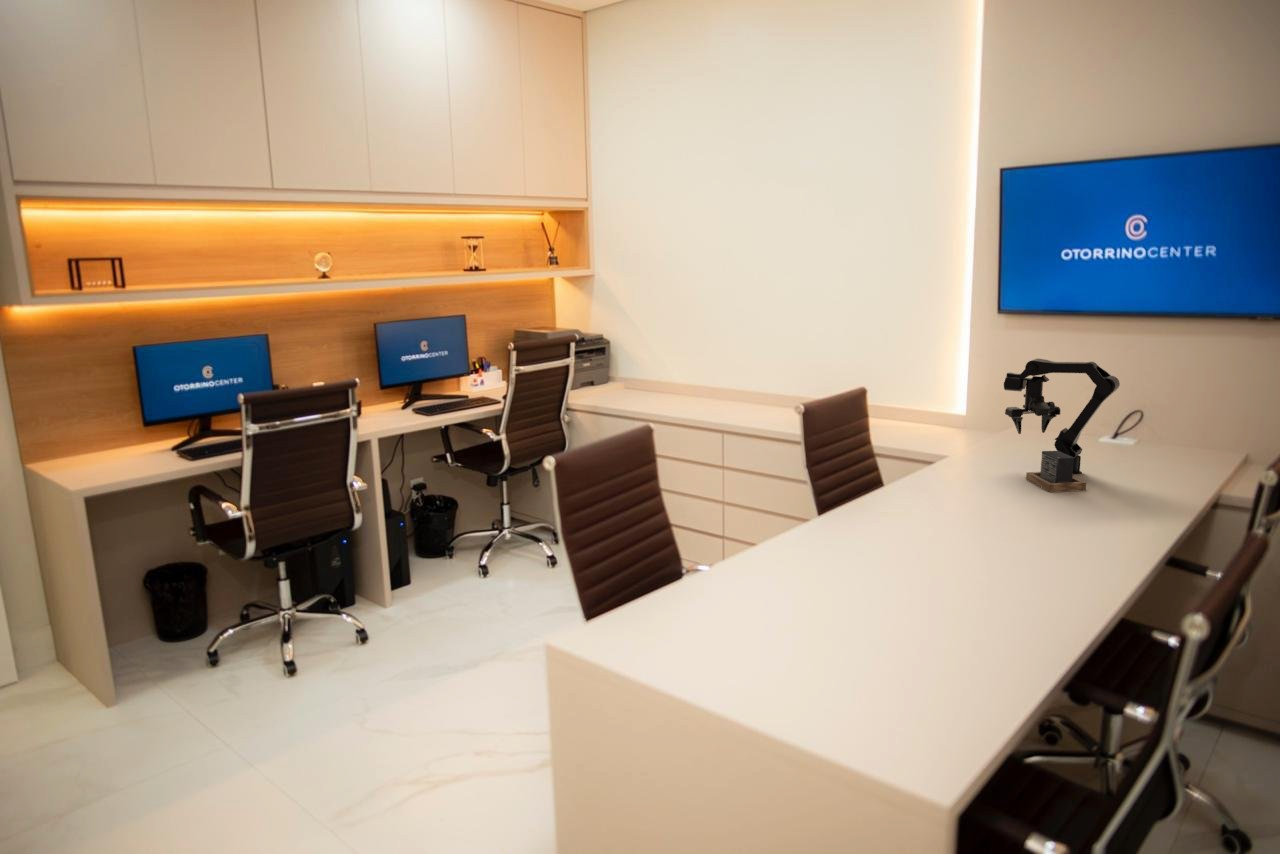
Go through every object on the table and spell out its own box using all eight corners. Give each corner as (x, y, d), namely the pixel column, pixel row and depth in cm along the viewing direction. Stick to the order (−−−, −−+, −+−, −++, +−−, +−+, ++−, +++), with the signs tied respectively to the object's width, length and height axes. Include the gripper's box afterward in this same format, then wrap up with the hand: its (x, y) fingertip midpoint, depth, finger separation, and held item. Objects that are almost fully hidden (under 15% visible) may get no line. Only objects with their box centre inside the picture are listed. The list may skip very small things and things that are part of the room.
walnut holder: (1060, 477, 309) (1061, 470, 309) (1085, 490, 294) (1086, 482, 293) (1025, 479, 309) (1026, 472, 308) (1049, 492, 293) (1049, 484, 293)
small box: (1073, 486, 297) (1075, 457, 294) (1055, 487, 296) (1057, 458, 294) (1056, 477, 307) (1058, 449, 305) (1039, 479, 306) (1040, 450, 304)
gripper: (1020, 397, 310) (1017, 439, 314) (1070, 395, 311) (1067, 436, 315) (1005, 392, 321) (1003, 432, 324) (1053, 390, 322) (1051, 430, 325)
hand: (1031, 433), depth 322 cm, fingers open, 9 cm apart
